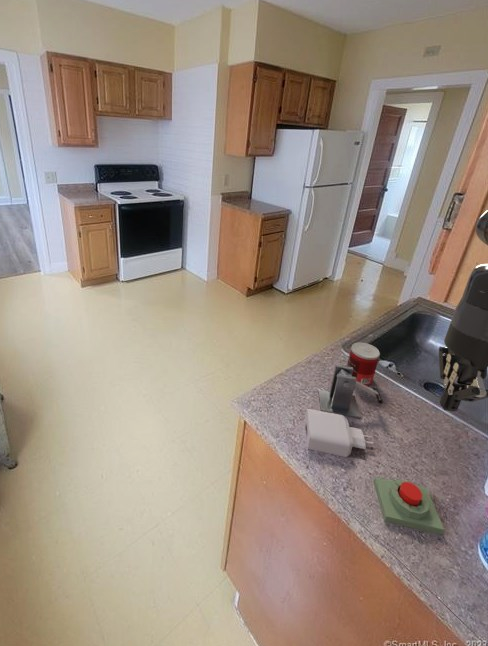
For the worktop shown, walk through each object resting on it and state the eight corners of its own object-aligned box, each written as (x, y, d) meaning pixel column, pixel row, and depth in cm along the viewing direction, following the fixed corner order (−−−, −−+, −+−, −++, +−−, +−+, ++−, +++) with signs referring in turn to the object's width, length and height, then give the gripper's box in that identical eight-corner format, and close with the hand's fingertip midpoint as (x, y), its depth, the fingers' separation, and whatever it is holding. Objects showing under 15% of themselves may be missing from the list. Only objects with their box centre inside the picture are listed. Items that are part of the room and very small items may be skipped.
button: (415, 489, 65) (418, 483, 64) (422, 508, 62) (425, 502, 61) (396, 485, 66) (398, 479, 65) (402, 503, 62) (404, 497, 62)
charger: (375, 465, 73) (306, 451, 76) (365, 431, 81) (304, 420, 84) (379, 450, 71) (309, 436, 74) (369, 417, 80) (306, 406, 82)
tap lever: (374, 392, 88) (380, 386, 87) (379, 406, 83) (385, 400, 82) (335, 371, 88) (340, 365, 87) (338, 384, 84) (344, 377, 83)
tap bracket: (353, 398, 92) (362, 365, 87) (360, 420, 85) (369, 385, 80) (317, 392, 94) (324, 359, 89) (320, 413, 86) (328, 378, 82)
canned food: (375, 379, 100) (384, 350, 95) (365, 392, 94) (374, 361, 90) (351, 367, 105) (357, 339, 100) (340, 378, 99) (347, 349, 95)
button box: (424, 492, 67) (429, 481, 66) (441, 535, 60) (447, 523, 59) (373, 482, 69) (376, 470, 68) (384, 521, 62) (388, 510, 61)
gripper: (535, 355, 46) (492, 442, 53) (482, 311, 58) (452, 386, 65) (475, 347, 48) (440, 433, 54) (436, 305, 60) (411, 380, 66)
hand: (447, 407), depth 59 cm, fingers closed
